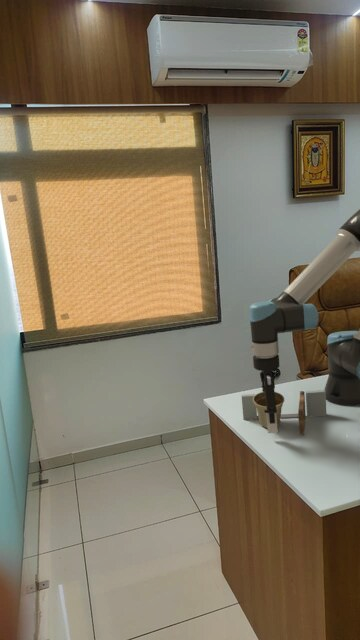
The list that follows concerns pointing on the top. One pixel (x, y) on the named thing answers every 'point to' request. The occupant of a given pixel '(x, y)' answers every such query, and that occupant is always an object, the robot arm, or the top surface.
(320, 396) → the wall
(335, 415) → the top surface
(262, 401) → the flower pot
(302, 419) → the door
